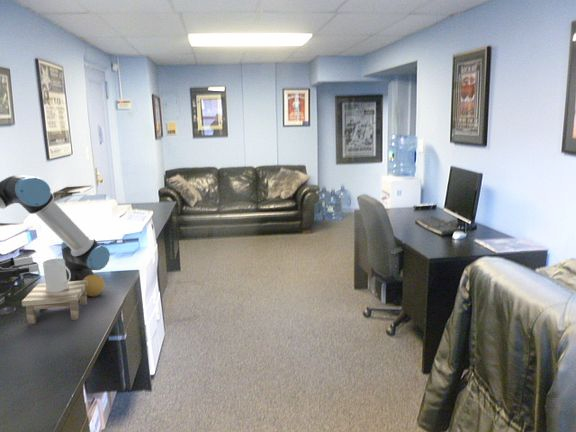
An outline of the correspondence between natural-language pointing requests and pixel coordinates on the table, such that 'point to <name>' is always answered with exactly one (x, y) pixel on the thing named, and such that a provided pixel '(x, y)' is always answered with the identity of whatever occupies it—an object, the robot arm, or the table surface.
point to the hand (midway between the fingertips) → (35, 263)
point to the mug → (56, 275)
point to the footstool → (55, 299)
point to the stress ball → (94, 285)
